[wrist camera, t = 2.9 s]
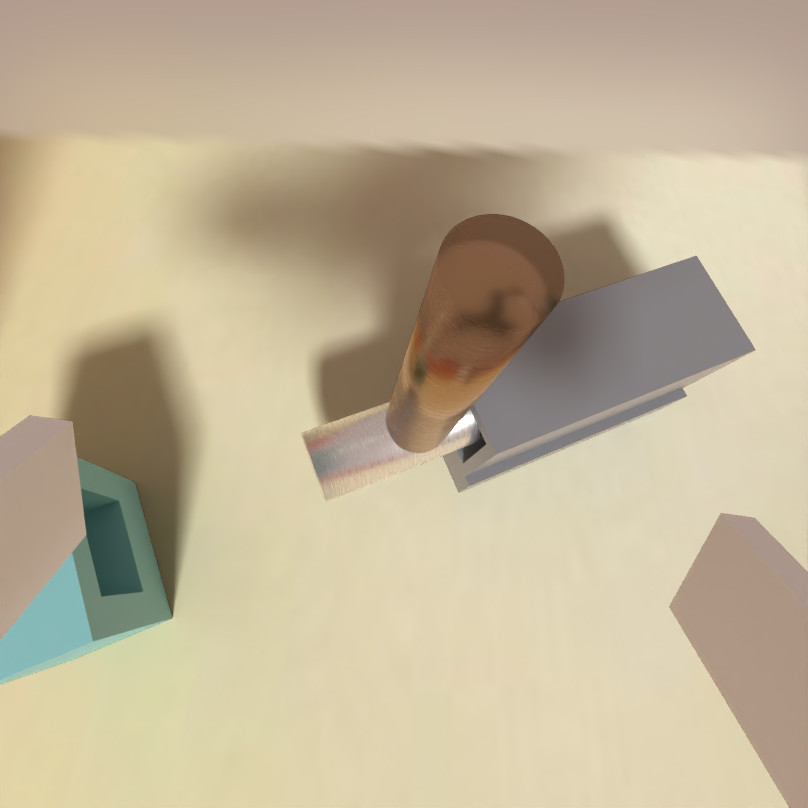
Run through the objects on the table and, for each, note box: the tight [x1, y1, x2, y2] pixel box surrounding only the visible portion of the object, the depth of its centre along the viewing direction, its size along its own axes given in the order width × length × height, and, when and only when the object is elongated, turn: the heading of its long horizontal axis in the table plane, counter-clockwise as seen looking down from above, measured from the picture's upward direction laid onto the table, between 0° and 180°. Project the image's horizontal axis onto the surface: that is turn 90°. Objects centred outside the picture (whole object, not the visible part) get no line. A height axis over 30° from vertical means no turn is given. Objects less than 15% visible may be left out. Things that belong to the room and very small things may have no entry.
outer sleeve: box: [443, 256, 755, 492], centre depth 27 cm, size 6×14×8 cm, turn 113°
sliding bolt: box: [301, 214, 564, 501], centre depth 19 cm, size 3×18×15 cm, turn 112°
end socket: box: [0, 457, 172, 684], centre depth 21 cm, size 7×4×8 cm, turn 23°
